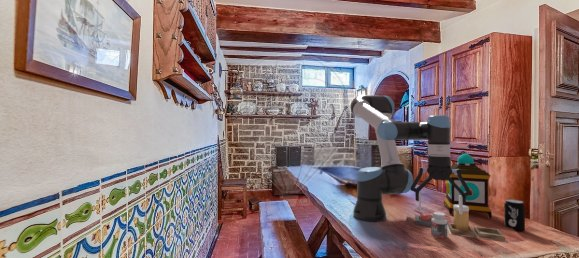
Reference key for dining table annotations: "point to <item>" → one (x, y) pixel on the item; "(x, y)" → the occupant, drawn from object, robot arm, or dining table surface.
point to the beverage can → (514, 214)
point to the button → (425, 217)
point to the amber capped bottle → (461, 218)
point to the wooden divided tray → (478, 233)
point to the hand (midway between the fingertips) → (439, 211)
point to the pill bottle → (439, 226)
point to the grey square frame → (422, 221)
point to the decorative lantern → (475, 183)
